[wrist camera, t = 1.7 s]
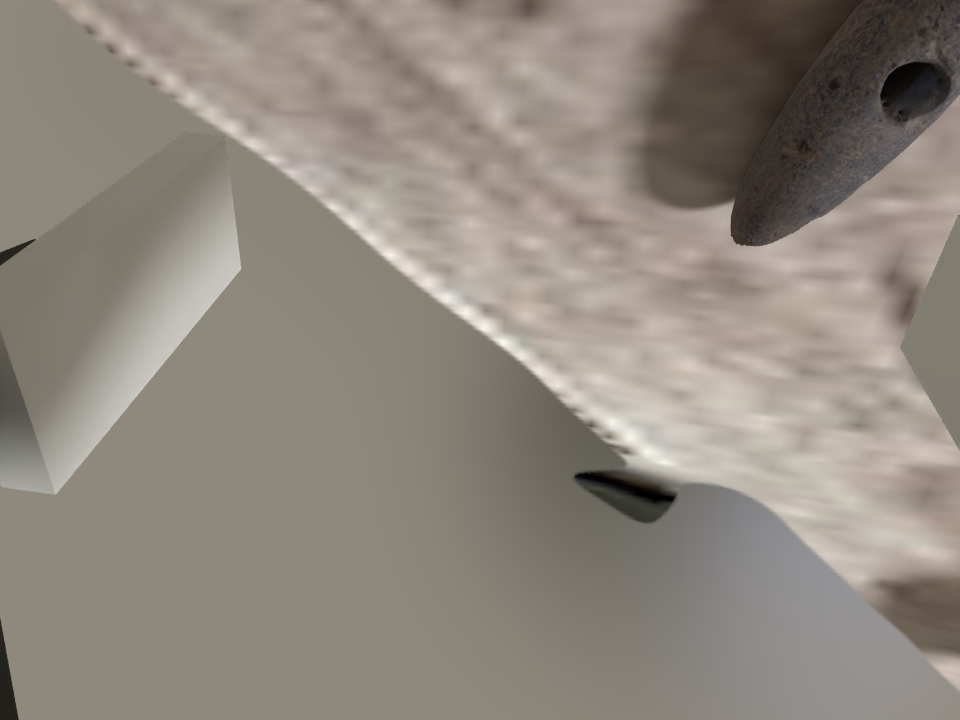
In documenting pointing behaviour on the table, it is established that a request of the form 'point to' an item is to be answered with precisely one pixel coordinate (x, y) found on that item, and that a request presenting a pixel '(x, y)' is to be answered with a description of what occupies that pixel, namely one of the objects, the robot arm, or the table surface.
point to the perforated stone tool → (851, 114)
